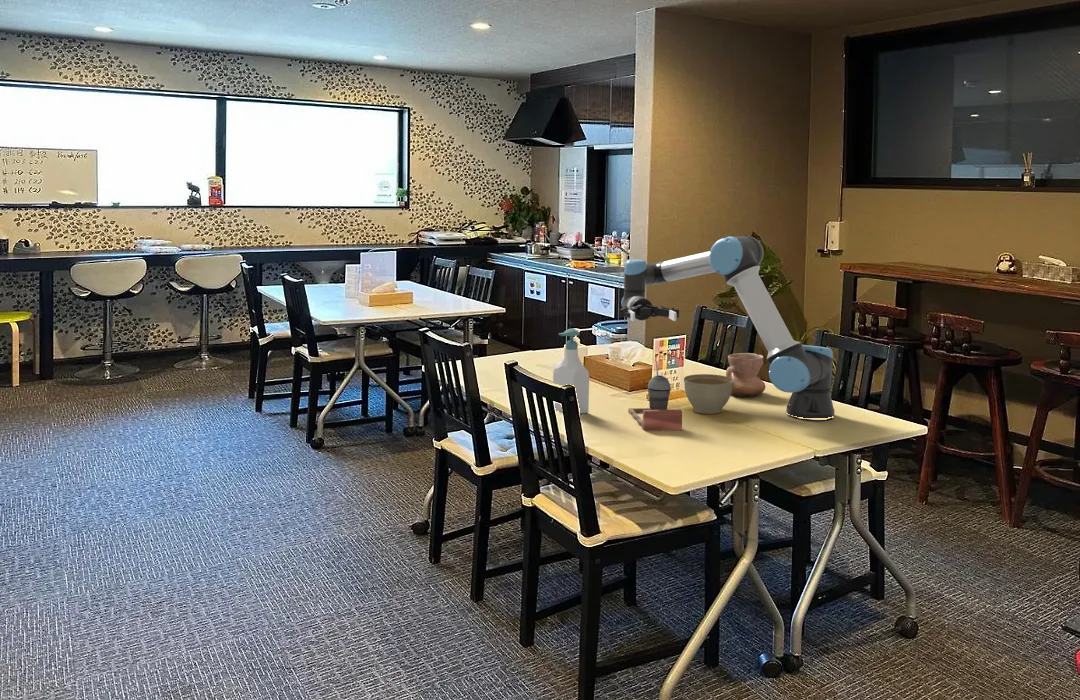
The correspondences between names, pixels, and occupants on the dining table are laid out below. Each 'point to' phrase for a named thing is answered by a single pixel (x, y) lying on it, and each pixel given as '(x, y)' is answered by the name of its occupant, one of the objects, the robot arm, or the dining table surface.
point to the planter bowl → (708, 392)
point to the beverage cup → (658, 392)
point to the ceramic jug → (745, 374)
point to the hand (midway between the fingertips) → (654, 317)
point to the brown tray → (658, 418)
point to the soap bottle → (573, 372)
